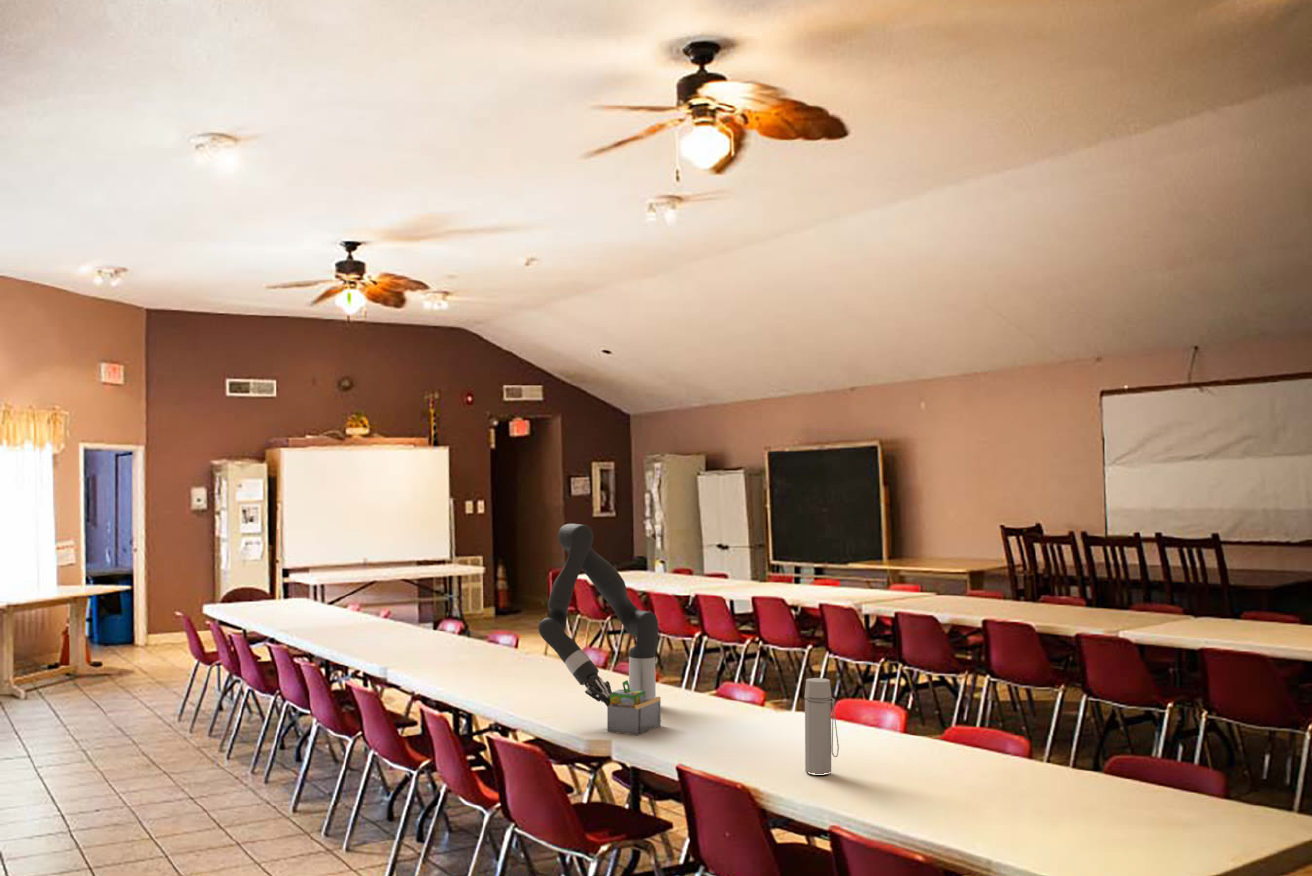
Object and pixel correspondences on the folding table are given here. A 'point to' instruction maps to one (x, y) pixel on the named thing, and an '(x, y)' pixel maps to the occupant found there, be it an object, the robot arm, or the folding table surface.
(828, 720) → the water bottle
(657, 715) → the grey rectangular box
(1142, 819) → the folding table surface
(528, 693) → the folding table surface
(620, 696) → the chalk box
